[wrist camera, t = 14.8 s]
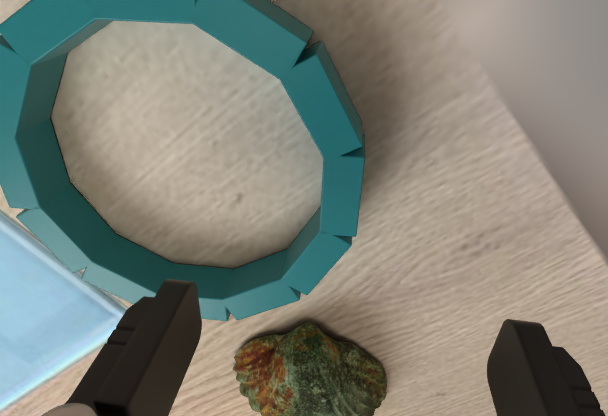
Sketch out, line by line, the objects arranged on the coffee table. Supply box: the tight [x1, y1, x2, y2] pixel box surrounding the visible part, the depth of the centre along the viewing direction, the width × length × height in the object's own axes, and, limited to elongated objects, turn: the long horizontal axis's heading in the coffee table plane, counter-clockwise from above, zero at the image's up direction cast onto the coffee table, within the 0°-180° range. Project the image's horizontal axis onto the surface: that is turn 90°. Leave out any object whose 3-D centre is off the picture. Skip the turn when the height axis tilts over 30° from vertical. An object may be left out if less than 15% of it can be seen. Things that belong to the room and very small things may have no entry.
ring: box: [0, 0, 365, 321], centre depth 19 cm, size 16×16×2 cm
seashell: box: [233, 322, 387, 416], centre depth 26 cm, size 10×4×10 cm
